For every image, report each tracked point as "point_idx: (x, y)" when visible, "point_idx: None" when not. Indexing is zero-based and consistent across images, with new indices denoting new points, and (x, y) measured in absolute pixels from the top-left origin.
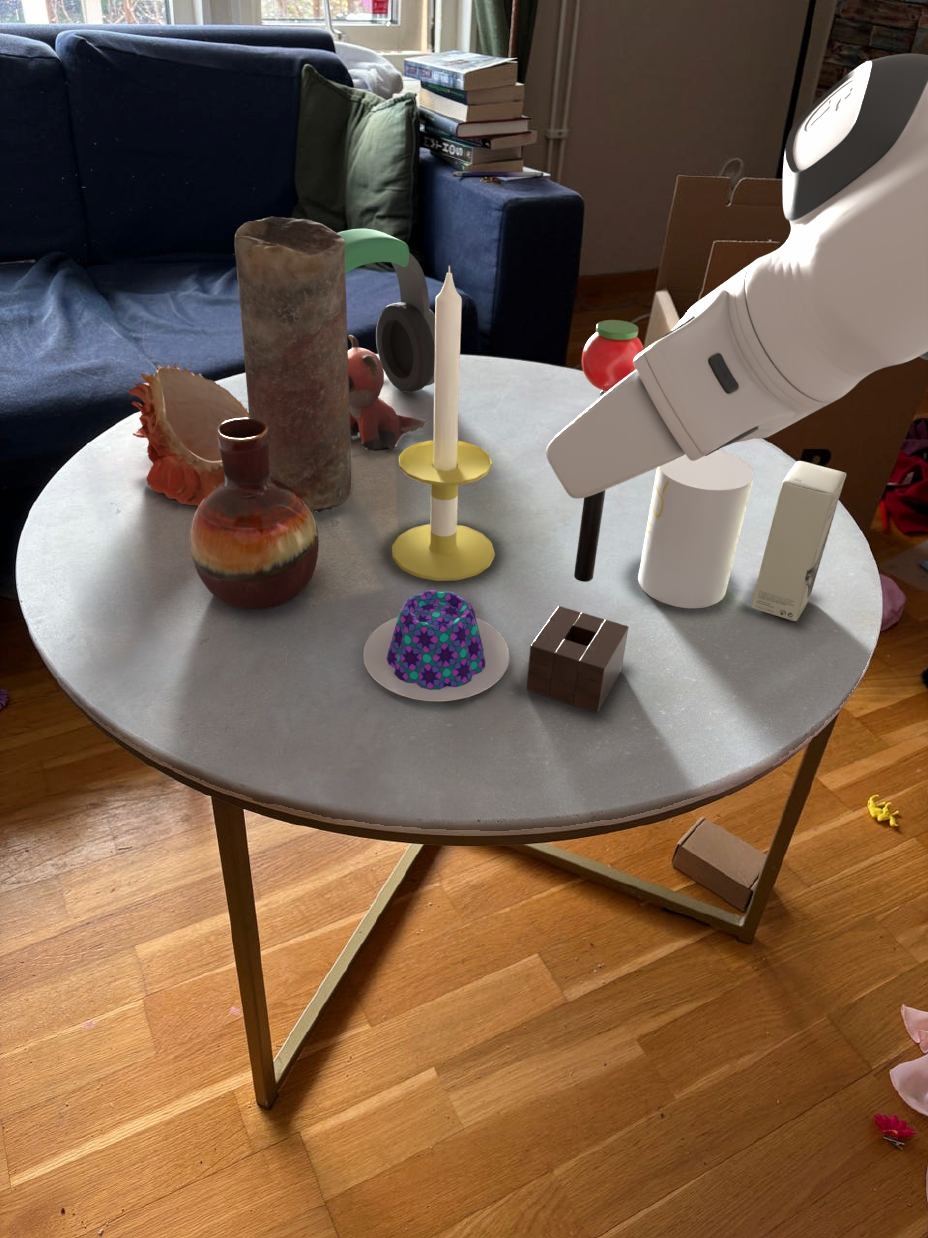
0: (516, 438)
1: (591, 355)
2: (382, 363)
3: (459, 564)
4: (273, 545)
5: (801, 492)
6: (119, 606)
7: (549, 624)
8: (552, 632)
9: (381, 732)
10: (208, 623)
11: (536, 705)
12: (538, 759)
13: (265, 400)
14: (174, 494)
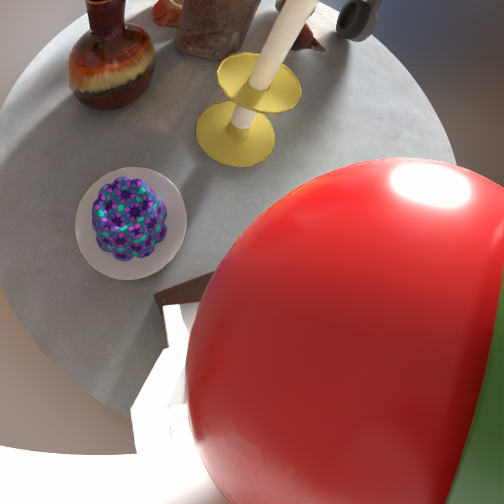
0: (367, 97)
1: (215, 381)
2: (338, 17)
3: (231, 150)
4: (87, 79)
5: None
6: (55, 69)
7: (189, 284)
8: (182, 294)
9: (51, 256)
10: (66, 101)
11: (149, 314)
12: (110, 354)
13: None
14: (154, 13)
